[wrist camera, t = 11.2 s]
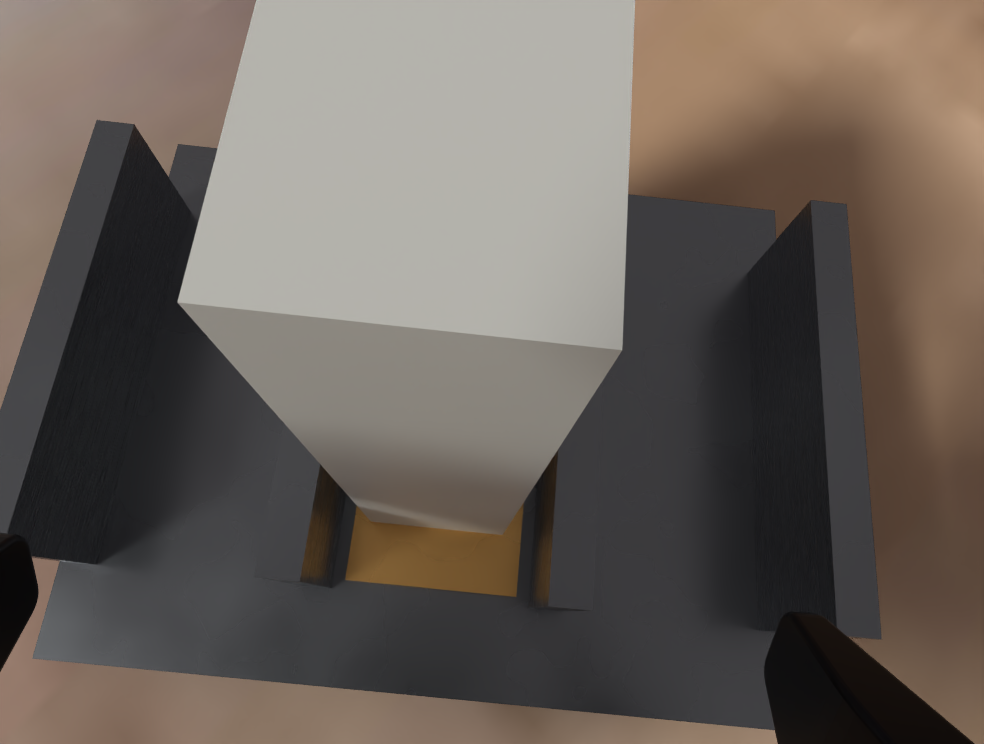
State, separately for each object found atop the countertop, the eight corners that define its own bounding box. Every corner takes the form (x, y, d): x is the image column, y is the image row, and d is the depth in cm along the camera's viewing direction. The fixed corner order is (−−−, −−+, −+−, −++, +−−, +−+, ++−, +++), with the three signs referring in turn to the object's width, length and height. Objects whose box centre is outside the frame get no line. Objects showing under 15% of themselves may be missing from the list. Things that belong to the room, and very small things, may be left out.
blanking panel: (502, 534, 16) (621, 351, 5) (370, 521, 16) (177, 301, 5) (523, 296, 18) (644, -238, 7) (406, 283, 18) (328, -276, 7)
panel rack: (776, 725, 16) (891, 764, 12) (57, 655, 16) (-88, 671, 12) (759, 229, 20) (840, 128, 16) (191, 166, 20) (120, 46, 16)
